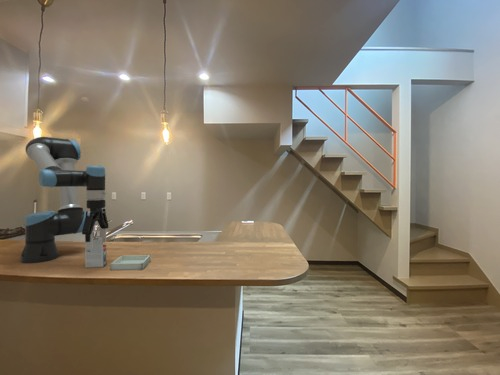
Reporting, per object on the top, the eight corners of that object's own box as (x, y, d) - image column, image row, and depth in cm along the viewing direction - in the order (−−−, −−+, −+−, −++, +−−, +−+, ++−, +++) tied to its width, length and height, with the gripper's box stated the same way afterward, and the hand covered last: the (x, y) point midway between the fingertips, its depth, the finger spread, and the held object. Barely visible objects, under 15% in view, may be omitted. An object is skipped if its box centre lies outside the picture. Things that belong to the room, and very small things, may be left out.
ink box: (89, 265, 124) (89, 234, 124) (106, 265, 125) (106, 234, 125) (84, 267, 121) (84, 236, 120) (103, 267, 122) (103, 236, 121)
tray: (110, 270, 118) (110, 263, 118) (121, 261, 131) (121, 255, 131) (142, 269, 120) (142, 263, 120) (150, 260, 133) (150, 255, 133)
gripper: (91, 201, 110) (91, 252, 110) (115, 197, 135) (115, 239, 135) (72, 201, 109) (72, 252, 110) (100, 198, 134) (100, 239, 135)
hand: (96, 245), depth 122 cm, fingers open, 13 cm apart
